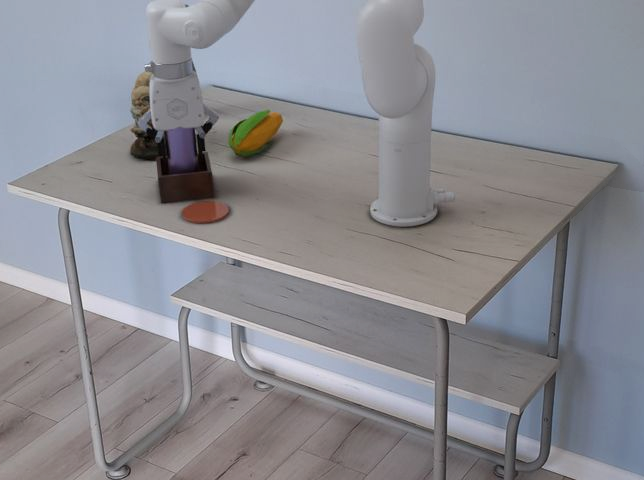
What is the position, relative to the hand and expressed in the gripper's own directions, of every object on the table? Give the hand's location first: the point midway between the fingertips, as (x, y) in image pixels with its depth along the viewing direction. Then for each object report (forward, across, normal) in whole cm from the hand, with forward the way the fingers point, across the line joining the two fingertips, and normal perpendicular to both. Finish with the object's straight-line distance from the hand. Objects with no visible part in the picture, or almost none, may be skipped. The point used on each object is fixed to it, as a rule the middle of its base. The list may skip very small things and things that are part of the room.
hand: (182, 156), depth 203 cm
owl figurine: (+7, -4, +24) cm, 25 cm away
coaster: (+7, +3, -12) cm, 14 cm away
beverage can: (+7, 0, 0) cm, 7 cm away
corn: (+7, +17, +19) cm, 27 cm away
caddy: (+7, 0, 0) cm, 7 cm away
